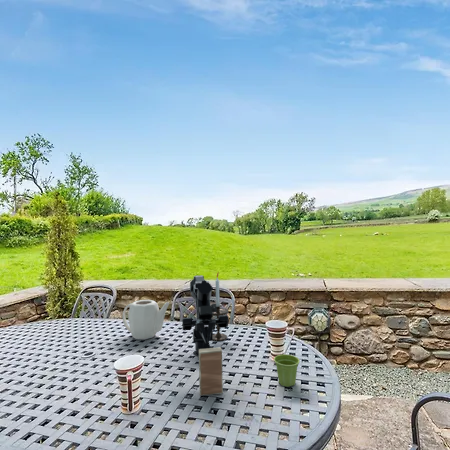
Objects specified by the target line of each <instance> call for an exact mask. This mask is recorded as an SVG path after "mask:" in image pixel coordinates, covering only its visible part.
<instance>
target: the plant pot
mask: <svg viewBox="0 0 450 450" xmlns="http://www.w3.org/2000/svg"><path fill="white" fill-rule="evenodd" d="M273 361H274V363H275V366H276V372H277V379H278V380H277V381H278V383H279V384H280V385H281V386H282V387H287V388H289V387H291V386H293V387H294V386H295V385H296V381H297V371H298V367H299V364H300V362H301V361H300V359H299V358H298V357H297V356H295V355H292V354H285V353H284V354H279V355H276V356H275V357H274V358H273Z"/></svg>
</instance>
